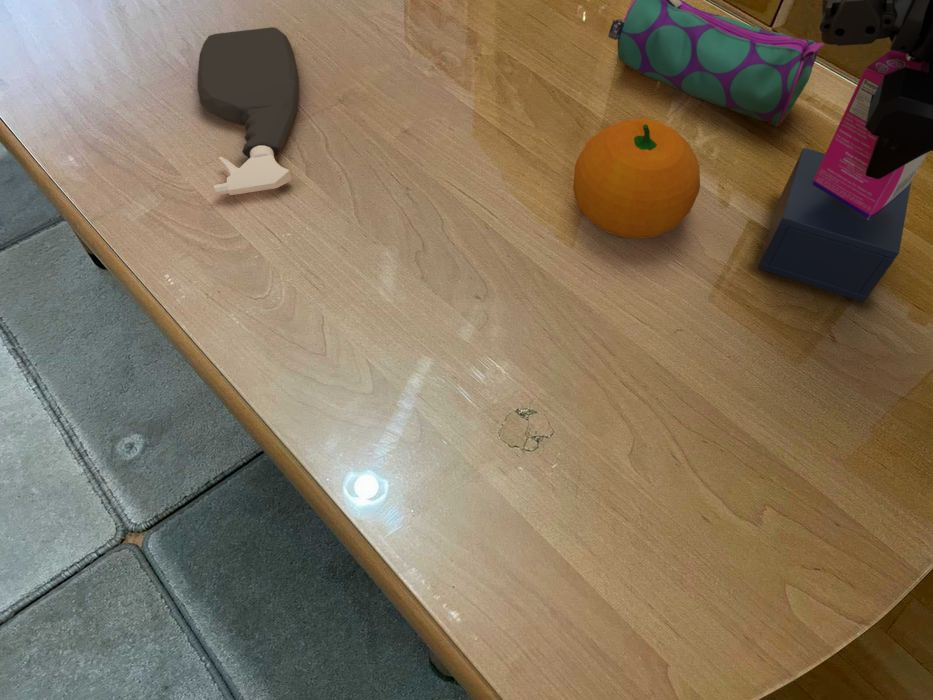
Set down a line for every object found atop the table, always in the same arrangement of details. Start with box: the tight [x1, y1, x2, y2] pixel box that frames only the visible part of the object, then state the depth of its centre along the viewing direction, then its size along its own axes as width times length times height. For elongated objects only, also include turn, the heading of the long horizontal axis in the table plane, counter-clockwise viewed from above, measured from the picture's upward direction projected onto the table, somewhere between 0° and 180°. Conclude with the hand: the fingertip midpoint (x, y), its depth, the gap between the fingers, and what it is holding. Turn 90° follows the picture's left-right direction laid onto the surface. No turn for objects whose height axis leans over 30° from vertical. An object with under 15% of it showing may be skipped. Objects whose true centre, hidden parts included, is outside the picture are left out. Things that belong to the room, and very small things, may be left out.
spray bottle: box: [197, 26, 300, 196], centre depth 80 cm, size 3×11×24 cm
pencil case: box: [607, 0, 825, 127], centre depth 80 cm, size 21×9×10 cm, turn 54°
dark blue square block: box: [757, 158, 896, 303], centre depth 68 cm, size 10×10×6 cm
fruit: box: [572, 118, 701, 239], centre depth 70 cm, size 12×12×10 cm
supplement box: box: [812, 49, 928, 220], centre depth 58 cm, size 6×6×12 cm
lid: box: [780, 147, 913, 260], centre depth 66 cm, size 10×10×1 cm
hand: (878, 146), depth 60 cm, fingers closed on supplement box, 7 cm apart
